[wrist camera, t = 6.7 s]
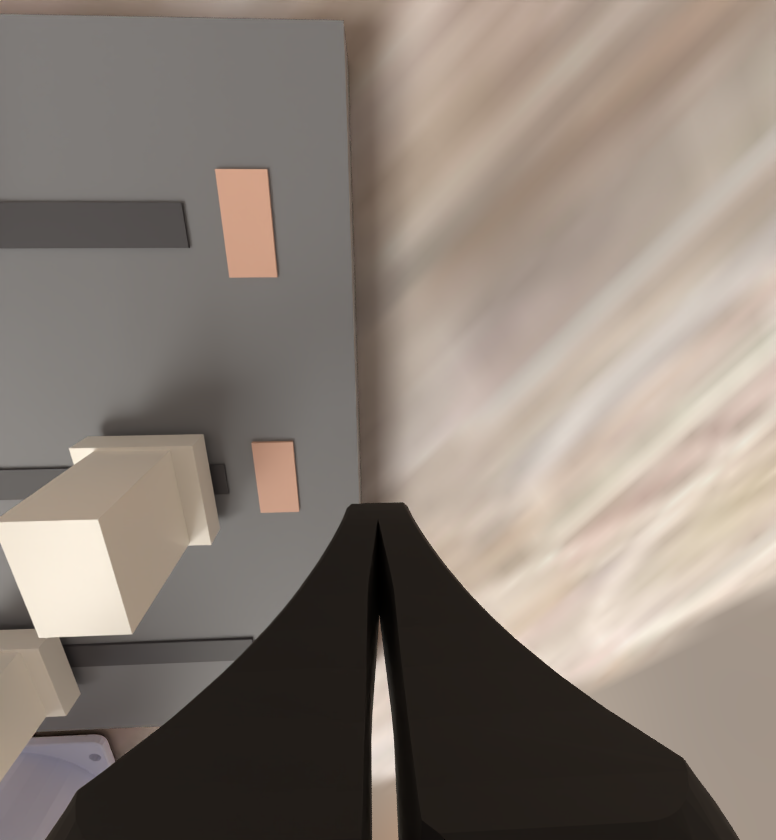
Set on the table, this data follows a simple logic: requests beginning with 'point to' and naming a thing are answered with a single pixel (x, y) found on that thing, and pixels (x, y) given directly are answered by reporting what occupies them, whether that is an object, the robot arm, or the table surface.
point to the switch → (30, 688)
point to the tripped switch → (109, 531)
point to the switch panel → (180, 310)
